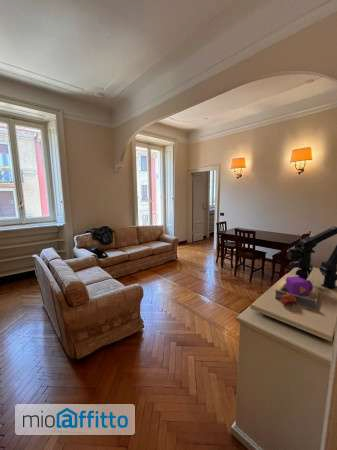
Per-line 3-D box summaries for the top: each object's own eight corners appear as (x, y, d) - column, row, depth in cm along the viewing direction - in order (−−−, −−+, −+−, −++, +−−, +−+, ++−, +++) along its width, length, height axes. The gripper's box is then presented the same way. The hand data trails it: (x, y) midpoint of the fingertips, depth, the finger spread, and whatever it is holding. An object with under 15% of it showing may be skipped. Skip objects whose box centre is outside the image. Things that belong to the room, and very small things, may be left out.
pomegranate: (298, 312, 110) (292, 294, 116) (300, 306, 105) (294, 288, 111) (283, 312, 112) (278, 294, 118) (284, 306, 107) (279, 288, 113)
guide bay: (284, 286, 134) (284, 279, 133) (320, 295, 121) (320, 287, 120) (275, 298, 120) (275, 290, 119) (314, 310, 107) (315, 301, 106)
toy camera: (316, 295, 121) (317, 280, 119) (296, 299, 118) (297, 283, 117) (301, 287, 131) (302, 273, 130) (282, 290, 129) (283, 275, 127)
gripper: (294, 253, 142) (293, 274, 145) (287, 260, 129) (286, 283, 132) (314, 256, 135) (312, 278, 137) (308, 264, 121) (306, 288, 124)
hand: (303, 282), depth 133 cm, fingers open, 8 cm apart
